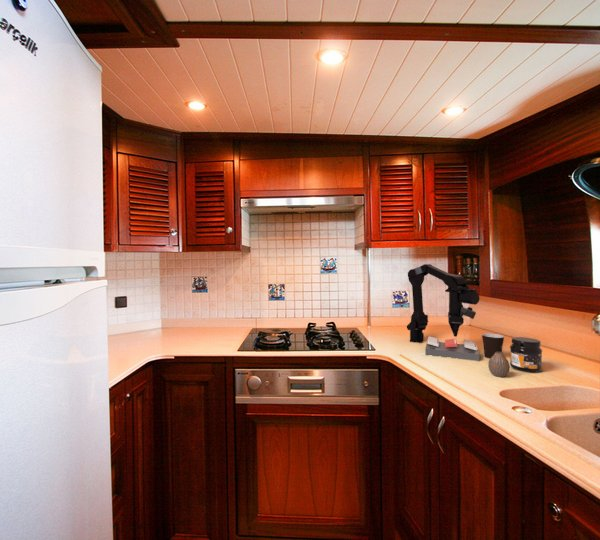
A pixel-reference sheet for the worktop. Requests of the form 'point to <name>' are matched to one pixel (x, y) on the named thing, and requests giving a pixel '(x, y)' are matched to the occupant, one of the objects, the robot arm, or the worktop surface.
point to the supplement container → (526, 354)
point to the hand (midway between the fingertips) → (455, 334)
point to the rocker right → (470, 345)
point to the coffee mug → (492, 344)
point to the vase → (499, 365)
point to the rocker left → (433, 341)
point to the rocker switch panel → (452, 351)
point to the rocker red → (451, 343)
